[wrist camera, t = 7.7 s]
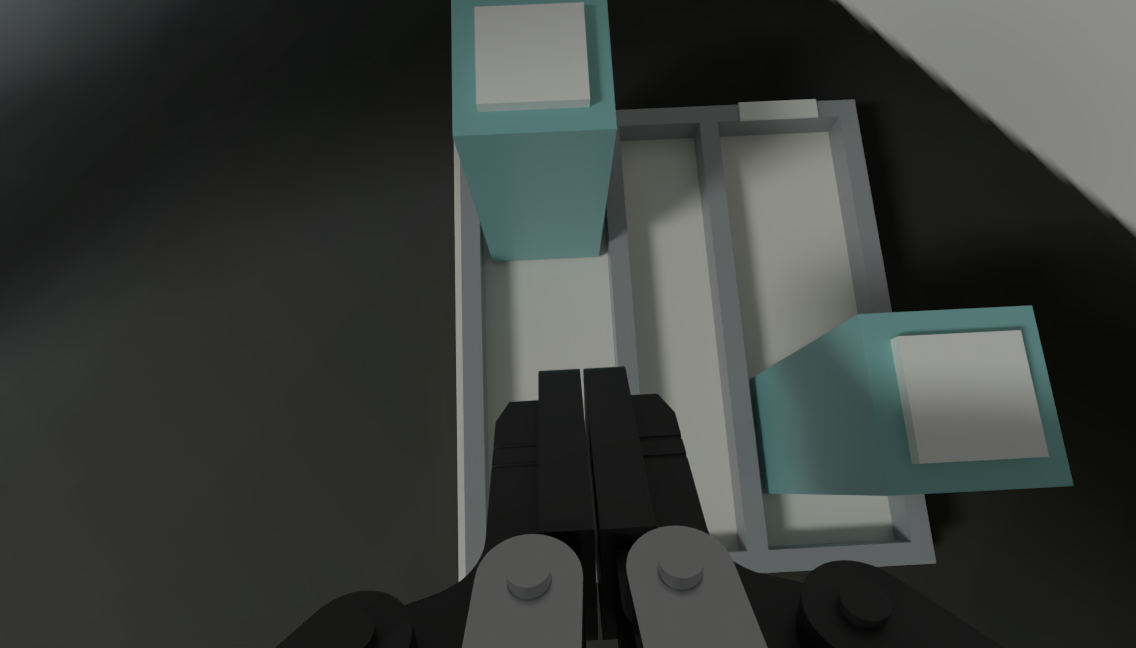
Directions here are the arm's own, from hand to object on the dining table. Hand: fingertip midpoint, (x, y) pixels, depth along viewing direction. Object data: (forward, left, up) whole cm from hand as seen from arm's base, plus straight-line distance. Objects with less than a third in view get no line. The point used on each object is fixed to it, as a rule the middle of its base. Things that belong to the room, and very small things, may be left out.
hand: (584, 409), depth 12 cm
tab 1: (-5, +6, -9) cm, 12 cm away
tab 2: (+6, +4, -9) cm, 12 cm away
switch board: (+1, +5, -10) cm, 11 cm away
